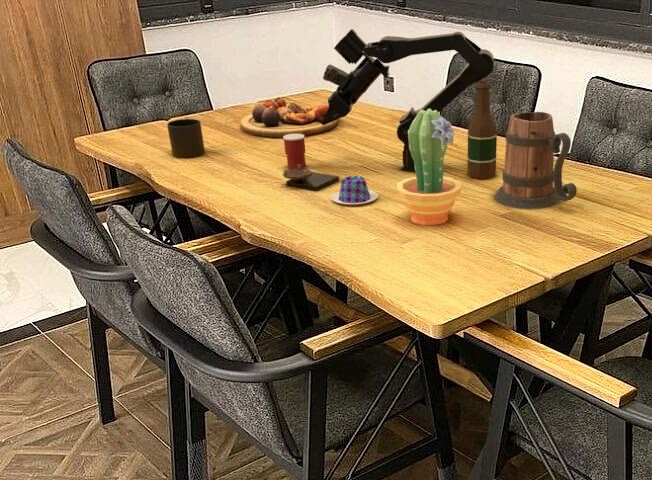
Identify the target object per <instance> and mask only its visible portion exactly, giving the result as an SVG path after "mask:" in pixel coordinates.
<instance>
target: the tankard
mask: <svg viewBox="0 0 652 480" xmlns="http://www.w3.org/2000/svg"><path fill="white" fill-rule="evenodd" d="M507 127H508V128H507V130H506V132H505V155H504V165H503V166H504V167H503V168H504V169H503V170H502V177H501V178H502V185H501V186H500V187H499V188H498V191H497V192H496V193H495V194H494V195H493V200H495V202H497V204H501V205H502V206H506V207H509V208H514V209H525V210H526V209H527V210H528V209H529V210H530V209H531V210H534V209H543V208H549V207H552V206H555V205H557V204H559V203H560V202H561V201H562V202H569V201H571V200H573V199H574V198H575V197H576V195H577V192H578V190H577V186H576V185H575V183H573V182H569V183H566V184H563V177H562V176H563V175H562V174H563V166H564V163H565V160H566V158H567V156H568V154H569V153H570V150H571V144H572V142H571V141H572V140H571V137H570V136H569V134H567V133H566V132H561V133H557V134H556V132H555V127H554V119H553V115H551V113H548V112H544V111H532V112H531V111H530V112H527V111H526V112H524V111H522V112H516V113H513V114H511V115H510V118H509V122H508V126H507ZM556 154H557V155H558V154H559V155H558V156H557V158H556V161H555V156H554V155H556ZM554 161H555V162H554Z"/></svg>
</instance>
